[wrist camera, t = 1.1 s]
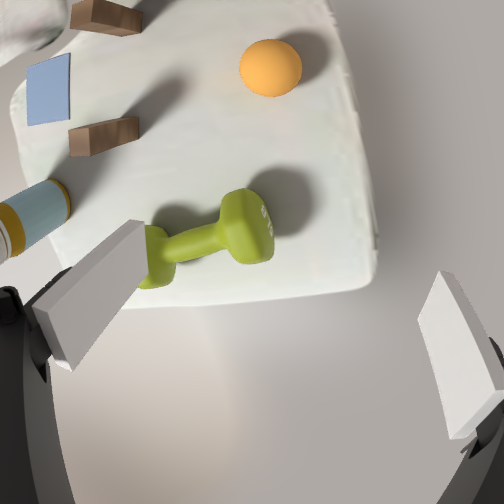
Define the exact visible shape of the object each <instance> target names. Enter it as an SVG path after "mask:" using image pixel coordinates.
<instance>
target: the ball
mask: <svg viewBox="0 0 504 504" xmlns="http://www.w3.org/2000/svg"><path fill="white" fill-rule="evenodd" d="M239 70H240V75H241V78H242V80H243V82H244V83H245V85H246V86H247V87H248V88H249V89H250V90H252V91H253V92H255V93H257V94H259V95H262V96H267V97H276V96H281V95H284V94H286V93H288V92H289V91H291V90H292V89H293V88H294V87H295V86H296V85H297V84H298V82H299V80H300V78H301V75H302V62H301V59H300V57H299V55H298V53H297V52H296V51H295V50H294V49H293V48H292V47H291V46H290V45H288V44H287V43H285V42H282V41H279V40H274V39H267V40H261V41H258V42H256V43H254V44H252V45H251V46H250V47H248V48H247V49H246V51H245V52H244V53H243V55H242V57H241V60H240V66H239Z"/></svg>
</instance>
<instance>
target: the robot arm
mask: <svg viewBox="0 0 504 504" xmlns="http://www.w3.org/2000/svg"><path fill="white" fill-rule="evenodd" d="M148 274H149V272H148V262H147V251H146V239H145V226H144V221H137V220H128V221H127V222H126V223H125V224H123V225H122V226H121V227H120V228H118V229H117V230H116V231H115V232H114V233H112V234H111V235H110V236H109V237H107V238H106V239H105V240H104V241H103V242H101V243H100V244H99V245H98V246H97V247H96V248H94V249H93V250H92V251H91V252H90V253H89V254H87V255H86V256H85V257H84V258H83V259H82V260H80V261H79V262H78V263H77V264H76V265H75V266H74V267H69V268H67V269H65V270H63V271H61V272H59V273H58V274H57V275H56V276H55V277H54V278H53V279H52V281H50V282H48V283H47V284H46V285H45V287H43V288H42V289H41V290H40V291H39V292H38V293H37V294H36V295H34V296H33V297H32V298H31V299H30V300H29V301H28V302H27V303H26V304H25V305H24V306H23V304H22V301H21V299H20V297H19V293H18V291H17V289H16V288H15V287H12V286H4V287H1V288H0V504H75V501H74V498H73V494H72V491H71V487H70V484H69V480H68V476H67V473H66V468H65V464H64V460H63V455H62V451H61V446H60V441H59V436H58V430H57V424H56V419H55V412H54V403H53V395H52V386H51V376H50V366H49V363H48V360H47V359H48V358H49V357H50V356H51V354H52V355H53V357H54V359H55V361H56V364H57V365H58V366H60V367H63V368H65V369H67V370H69V371H71V372H73V371H74V369H75V368H76V367H77V365H78V364H79V363H80V361H81V360H82V359H83V357H84V356H85V354H86V353H87V352H88V350H89V349H90V348H91V346H92V345H93V344H94V342H95V341H96V339H97V338H98V337H99V335H100V334H101V333H102V332H103V330H104V329H105V328H106V327H107V325H108V324H109V322H110V321H111V320H112V319H113V317H114V316H115V315H116V314H117V312H118V311H119V310H120V309H121V307H122V306H123V305H124V303H125V302H126V301H127V300H128V298H129V297H130V296H131V295H132V293H133V292H134V291H135V290H136V288H137V287H138V286H139V285H140V284H141V282H142V281H143V280H144V279H145V277H146V276H147V275H148ZM417 320H418V323H419V325H420V329H421V331H422V335H423V338H424V341H425V344H426V347H427V350H428V354H429V357H430V361H431V364H432V367H433V371H434V374H435V378H436V382H437V386H438V390H439V394H440V398H441V402H442V406H443V410H444V415H445V419H446V424H447V429H448V434H449V439H461V438H466V437H467V436H468V435H469V434H470V433H471V432H473V431H474V429H476V431H477V437H475V438H474V439H473V440H472V441H471V442H470V443H469V444H468V445H467V446H466V447H464V448H463V450H462V451H461V453H463V452H465V451H466V450H467V449H468V451H467V453H466V455H465V456H464V458H463V460H462V462H461V464H460V466H459V468H458V470H457V471H456V473H455V475H454V476H453V478H452V480H451V482H450V483H449V485H448V487H447V488H446V490H445V491H444V493H443V495H442V496H441V498H440V499H439V501H438V502H437V504H504V358H503V354H502V352H501V350H500V348H499V346H498V345H497V344H496V343H495V342H494V340H493V339H492V338H490V337H488V336H487V334H486V332H485V330H484V328H483V326H482V324H481V322H480V320H479V318H478V316H477V314H476V313H475V311H474V309H473V307H472V305H471V304H470V302H469V300H468V298H467V296H466V295H465V293H464V291H463V289H462V288H461V286H460V284H459V283H458V281H457V280H456V278H455V276H454V275H453V273H449V272H444V271H439V272H438V274H437V276H436V279H435V281H434V284H433V286H432V288H431V291H430V293H429V295H428V297H427V300H426V302H425V304H424V306H423V308H422V311H421V313H420V315H419V317H418V319H417Z"/></svg>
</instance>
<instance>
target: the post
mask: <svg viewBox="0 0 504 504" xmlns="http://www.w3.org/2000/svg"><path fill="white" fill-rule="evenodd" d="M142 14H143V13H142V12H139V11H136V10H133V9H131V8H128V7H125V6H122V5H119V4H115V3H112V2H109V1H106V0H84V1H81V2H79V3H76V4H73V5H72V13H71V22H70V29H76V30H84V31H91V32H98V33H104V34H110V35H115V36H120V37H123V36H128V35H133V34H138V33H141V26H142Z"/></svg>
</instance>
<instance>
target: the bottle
mask: <svg viewBox="0 0 504 504" xmlns="http://www.w3.org/2000/svg"><path fill="white" fill-rule="evenodd" d="M69 214H70V199H69V196H68V194H67V191H66V190H65V188H64V187H63V186H62V185H61V184H60V183H58V182H57V181H55V180H52V179H48V180H45V181H42V182H40V183H38V184H36V185H34V186H32V187H30V188H28V189H26V190H24V191H22V192H20V193H18V194H16V195H14V196H12V197H10V198H9V199H7V200H5V201H3V202H1V203H0V265H1V264H2V263H4V261H6V260H7V259H9V258H11V257H14V256H18V255H19V254H21V253H22V252H24V251H25V250H26V249H28V248H29V247H31V246H32V245H33V244H35V243H36V242H38V241H39V240H40V239H42V238H43V237H45V236H46V235H48V234H49V233H50V232H52V231H53V230H55V229H56V228H58V227H59V226H61V225H62V224H63V223H65V222H66V221H67V219H68V218H69Z"/></svg>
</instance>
